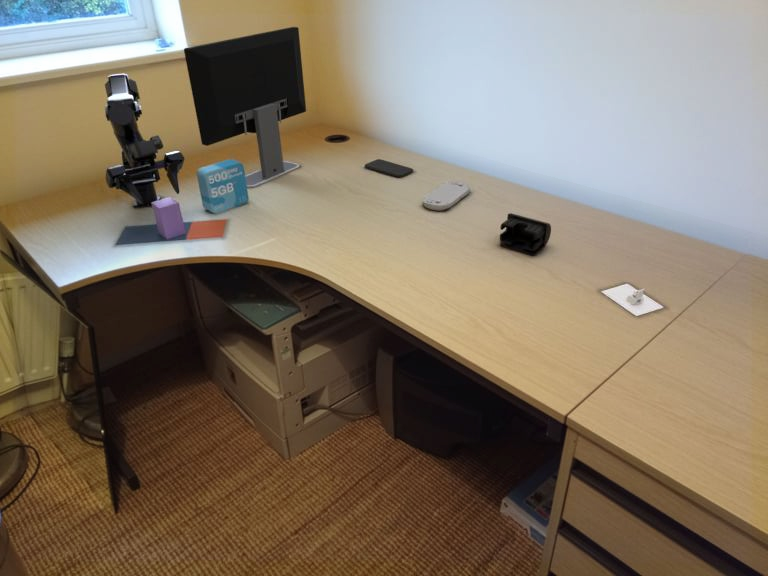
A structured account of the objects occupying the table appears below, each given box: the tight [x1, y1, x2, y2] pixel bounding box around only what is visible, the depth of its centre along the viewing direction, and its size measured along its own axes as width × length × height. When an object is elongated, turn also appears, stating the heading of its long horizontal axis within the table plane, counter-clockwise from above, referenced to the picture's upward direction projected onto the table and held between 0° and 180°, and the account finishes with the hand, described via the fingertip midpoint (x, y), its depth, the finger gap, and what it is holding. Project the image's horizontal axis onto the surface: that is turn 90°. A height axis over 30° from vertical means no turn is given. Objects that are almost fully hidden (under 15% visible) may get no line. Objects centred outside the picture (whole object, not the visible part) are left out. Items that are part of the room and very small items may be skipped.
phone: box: [364, 158, 414, 178], centre depth 184 cm, size 7×1×15 cm
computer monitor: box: [183, 26, 307, 188], centre depth 173 cm, size 41×8×40 cm, turn 144°
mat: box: [114, 218, 228, 246], centre depth 150 cm, size 26×10×1 cm, turn 97°
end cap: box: [499, 212, 552, 257], centre depth 138 cm, size 10×7×7 cm
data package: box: [196, 158, 249, 214], centre depth 160 cm, size 12×4×12 cm, turn 135°
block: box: [151, 196, 186, 239], centre depth 147 cm, size 5×5×8 cm
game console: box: [422, 180, 471, 212], centre depth 163 cm, size 18×2×8 cm
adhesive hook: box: [625, 288, 645, 305], centre depth 117 cm, size 3×3×3 cm
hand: (160, 198), depth 145 cm, fingers open, 9 cm apart
